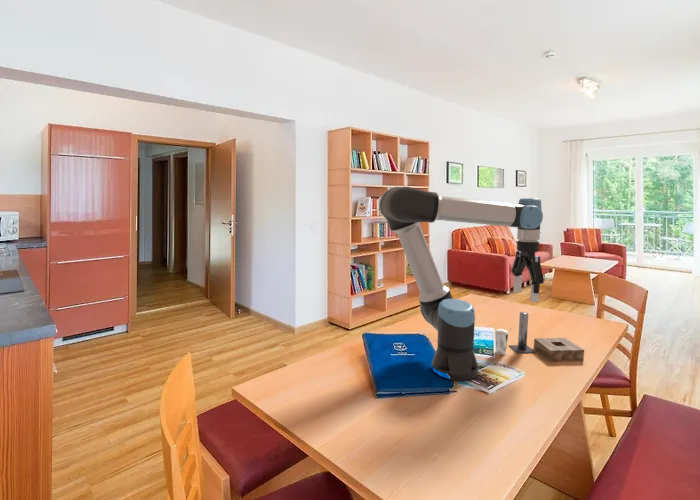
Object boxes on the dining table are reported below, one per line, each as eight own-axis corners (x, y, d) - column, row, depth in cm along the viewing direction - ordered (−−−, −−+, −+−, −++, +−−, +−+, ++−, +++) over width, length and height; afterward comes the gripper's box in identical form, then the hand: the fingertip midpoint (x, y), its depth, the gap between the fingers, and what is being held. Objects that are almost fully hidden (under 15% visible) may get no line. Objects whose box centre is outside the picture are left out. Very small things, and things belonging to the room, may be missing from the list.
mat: (517, 353, 148) (517, 352, 148) (509, 346, 155) (509, 345, 155) (535, 353, 148) (535, 352, 148) (526, 345, 155) (526, 344, 155)
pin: (520, 350, 150) (521, 314, 148) (516, 347, 153) (518, 312, 151) (527, 350, 150) (529, 314, 148) (524, 347, 153) (526, 311, 151)
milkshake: (510, 356, 145) (512, 329, 144) (495, 355, 146) (496, 329, 145) (508, 351, 150) (509, 325, 148) (493, 350, 151) (494, 325, 149)
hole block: (550, 361, 140) (550, 350, 140) (533, 348, 152) (534, 338, 152) (583, 360, 141) (584, 349, 140) (564, 347, 153) (565, 337, 152)
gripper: (556, 244, 133) (553, 305, 136) (522, 236, 158) (520, 288, 161) (534, 245, 133) (531, 306, 136) (504, 237, 158) (501, 289, 161)
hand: (525, 296), depth 148 cm, fingers open, 13 cm apart
